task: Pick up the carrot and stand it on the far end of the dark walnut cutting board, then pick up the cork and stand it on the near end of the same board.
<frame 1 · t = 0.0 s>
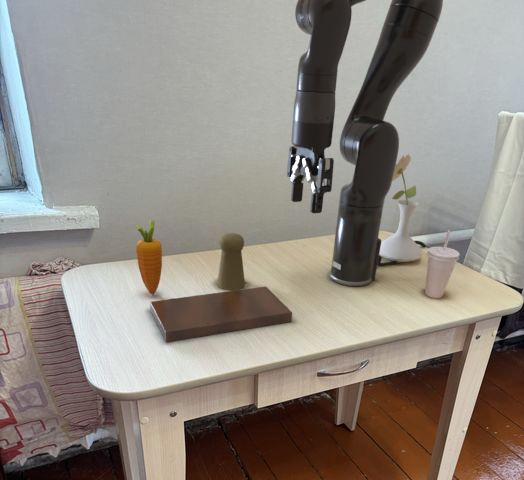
hand: (305, 206, 101), 17 cm above the table, tool pointing down, fingers open, 8 cm apart
cutting board: (220, 316, 96), on the table
smoothie: (433, 295, 109), on the table
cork: (231, 285, 109), on the table
carrot: (152, 295, 103), on the table
flower in vase: (394, 258, 127), on the table
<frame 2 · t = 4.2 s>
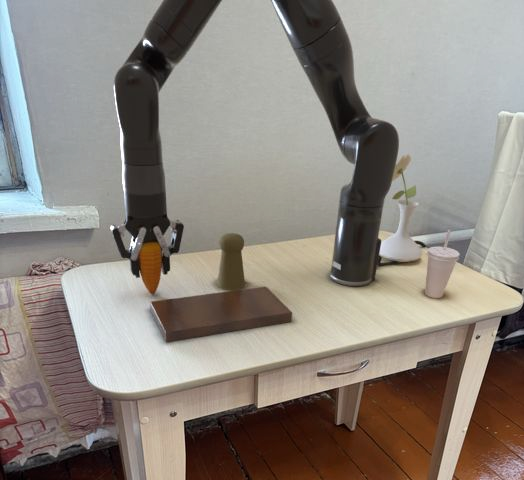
hand: (151, 274, 101), 4 cm above the table, tool pointing down, fingers closed on carrot, 5 cm apart
carrot: (152, 295, 103), on the table, touching gripper
everything else where it was.
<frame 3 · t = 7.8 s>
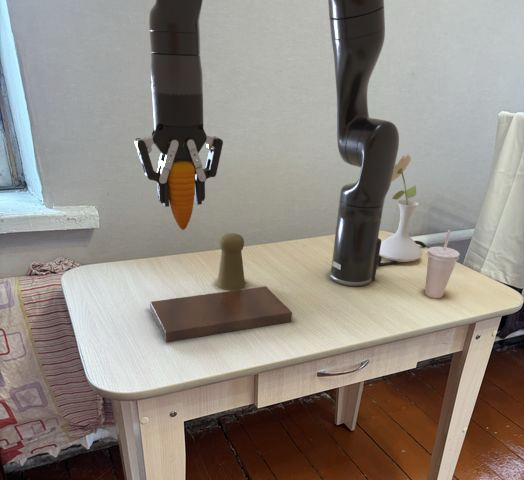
hand: (182, 204, 84), 21 cm above the table, tool pointing down, fingers closed on carrot, 5 cm apart
carrot: (183, 230, 86), point 17 cm above the table, touching gripper
everything else where it was.
when the fingers open (6 cm above the table, at t = 11.6 s): carrot stays where it is, resting on cutting board.
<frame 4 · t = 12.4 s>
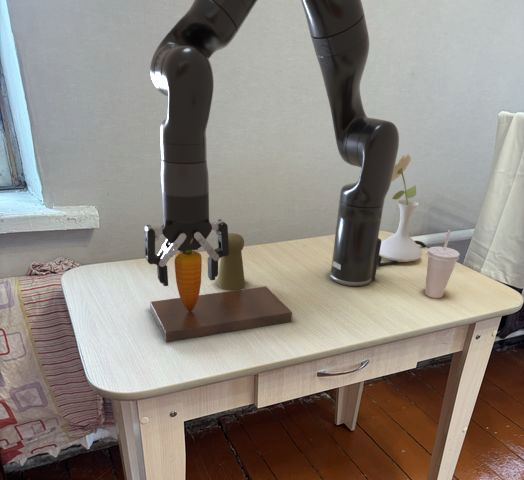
hand: (188, 281, 90), 8 cm above the table, tool pointing down, fingers open, 8 cm apart
carrot: (189, 312, 93), point 2 cm above the table, touching cutting board
everything else where it was.
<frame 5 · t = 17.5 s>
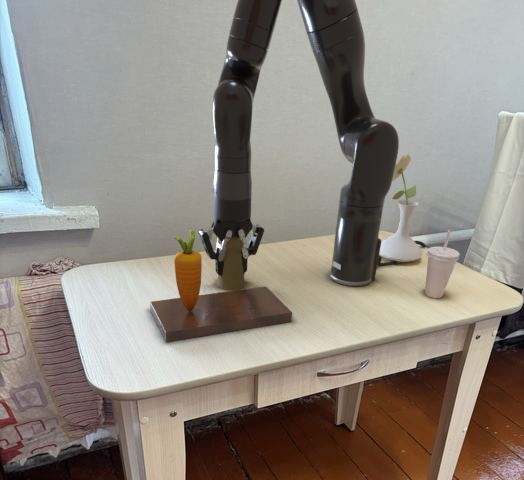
hand: (231, 274, 108), 2 cm above the table, tool pointing down, fingers closed on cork, 4 cm apart
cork: (231, 285, 109), on the table, touching gripper
everything else where it was.
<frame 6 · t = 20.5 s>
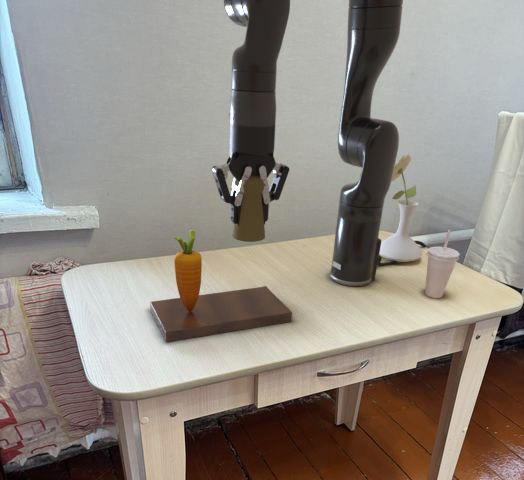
hand: (249, 224, 91), 17 cm above the table, tool pointing down, fingers closed on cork, 4 cm apart
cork: (248, 237, 92), point 14 cm above the table, touching gripper
everything else where it was.
when the fingers open (4 cm above the table, at t = 23.8 s): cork stays where it is, resting on cutting board.
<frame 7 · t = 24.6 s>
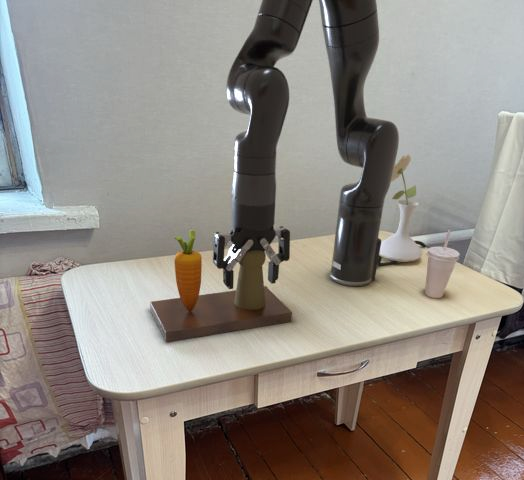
hand: (251, 284, 95), 6 cm above the table, tool pointing down, fingers open, 8 cm apart
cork: (249, 303, 97), point 2 cm above the table, touching cutting board
everything else where it was.
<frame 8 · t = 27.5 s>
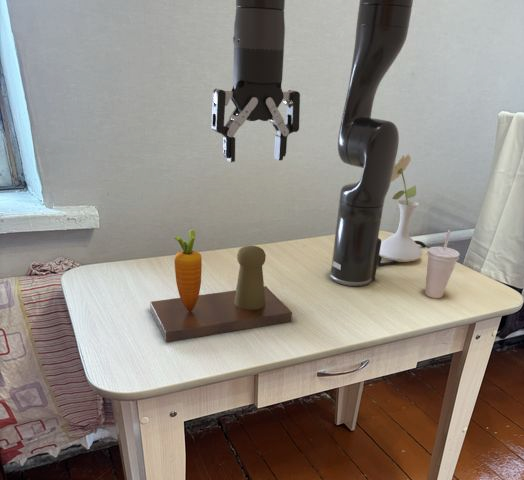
hand: (255, 160, 83), 28 cm above the table, tool pointing down, fingers open, 8 cm apart
nothing on the table moved.
at the end: carrot inside the target area on the cutting board (6.0 cm from its centre), point 1.8 cm above the cutting board's base; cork inside the target area on the cutting board (5.9 cm from its centre), point 1.8 cm above the cutting board's base; carrot tilted 0° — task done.
